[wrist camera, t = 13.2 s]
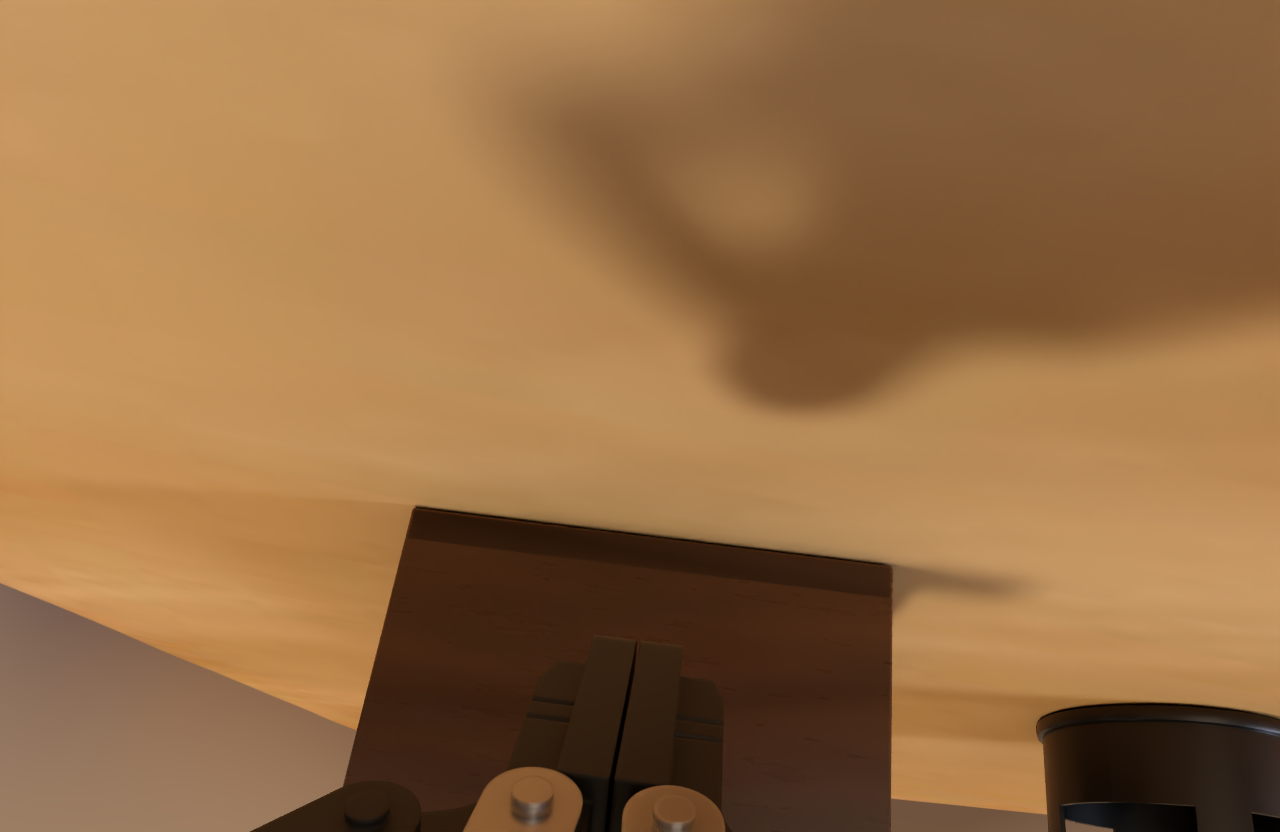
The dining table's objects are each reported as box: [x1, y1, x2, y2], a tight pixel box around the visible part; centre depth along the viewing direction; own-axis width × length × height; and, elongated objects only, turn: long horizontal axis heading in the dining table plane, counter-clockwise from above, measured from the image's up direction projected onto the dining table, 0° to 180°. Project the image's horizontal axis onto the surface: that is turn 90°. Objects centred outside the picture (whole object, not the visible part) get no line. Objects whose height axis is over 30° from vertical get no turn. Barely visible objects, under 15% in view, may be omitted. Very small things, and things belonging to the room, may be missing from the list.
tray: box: [343, 508, 893, 832], centre depth 32 cm, size 19×13×10 cm
